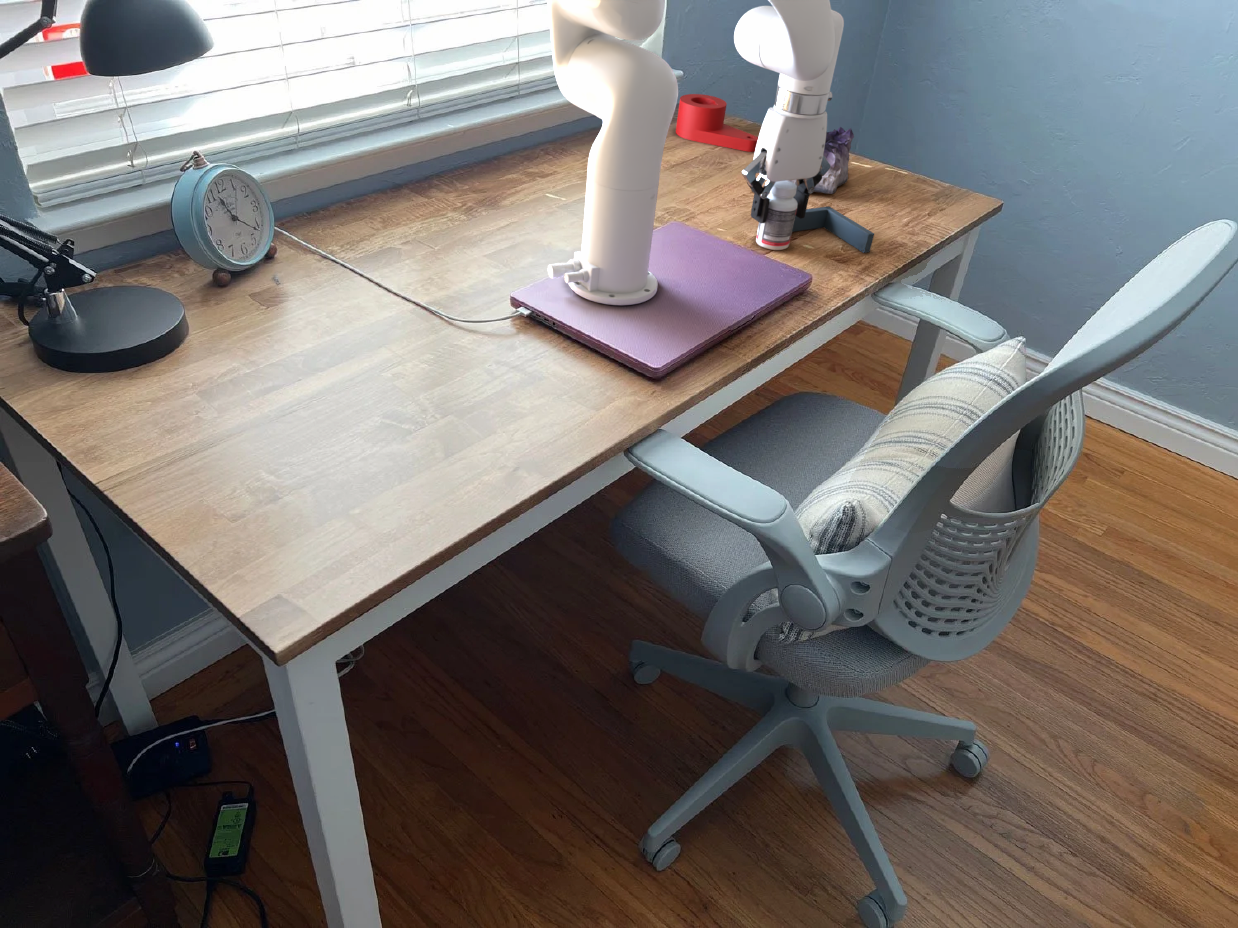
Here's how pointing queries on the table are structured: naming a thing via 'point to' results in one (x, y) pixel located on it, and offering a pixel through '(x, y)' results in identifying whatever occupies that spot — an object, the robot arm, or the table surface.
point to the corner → (836, 226)
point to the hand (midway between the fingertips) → (777, 217)
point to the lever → (710, 123)
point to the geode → (835, 160)
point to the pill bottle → (778, 217)
